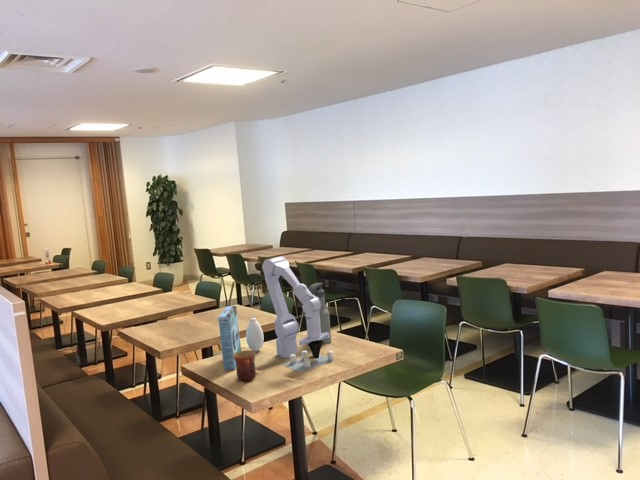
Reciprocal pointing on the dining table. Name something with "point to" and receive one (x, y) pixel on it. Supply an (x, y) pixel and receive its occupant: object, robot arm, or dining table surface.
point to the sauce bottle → (254, 335)
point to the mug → (245, 365)
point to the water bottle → (322, 310)
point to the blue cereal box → (229, 336)
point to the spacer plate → (301, 364)
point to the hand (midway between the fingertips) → (316, 357)
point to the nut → (311, 359)
